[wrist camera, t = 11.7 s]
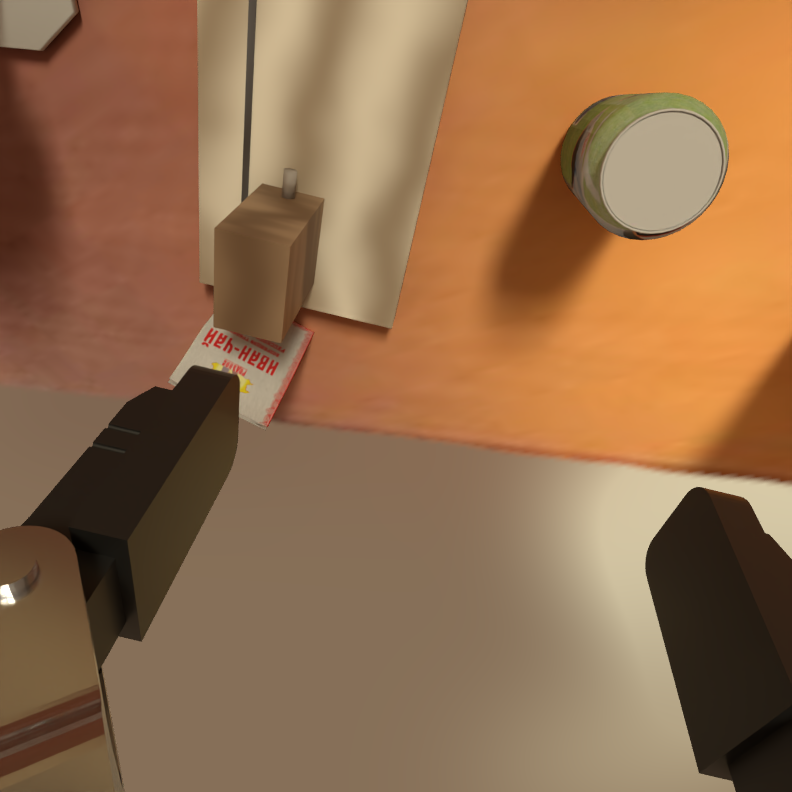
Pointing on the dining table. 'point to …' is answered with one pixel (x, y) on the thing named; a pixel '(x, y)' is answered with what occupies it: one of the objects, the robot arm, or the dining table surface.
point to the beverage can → (645, 162)
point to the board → (326, 128)
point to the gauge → (266, 260)
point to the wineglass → (34, 22)
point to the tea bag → (249, 365)
